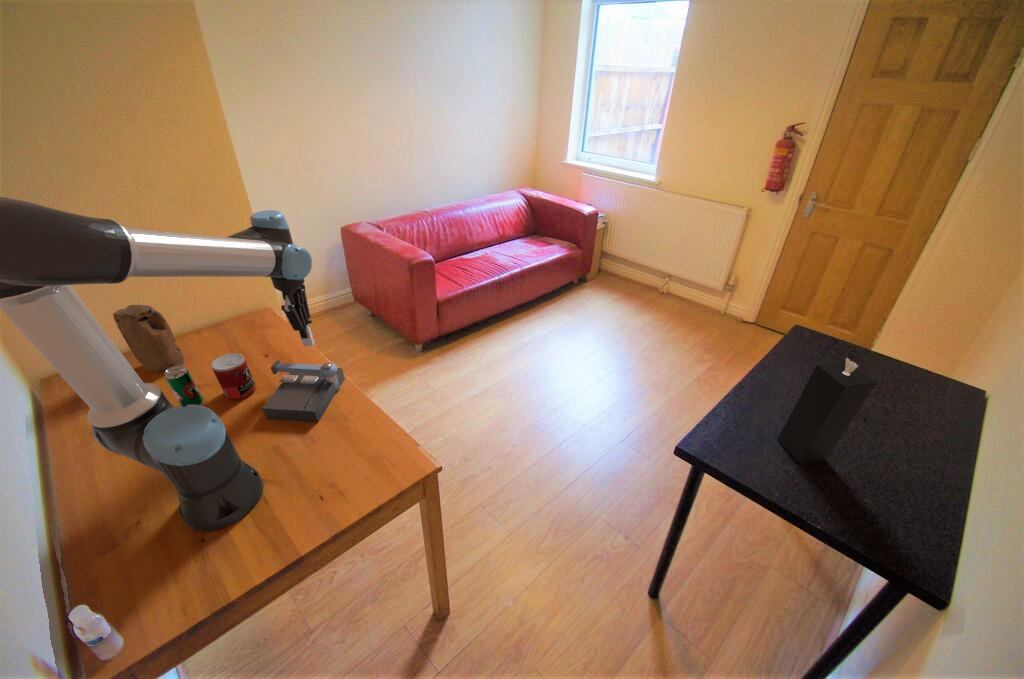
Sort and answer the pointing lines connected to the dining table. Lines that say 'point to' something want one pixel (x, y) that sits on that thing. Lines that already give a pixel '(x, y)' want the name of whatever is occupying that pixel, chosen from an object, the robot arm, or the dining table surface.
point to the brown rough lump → (148, 337)
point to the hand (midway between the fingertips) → (309, 344)
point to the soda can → (183, 386)
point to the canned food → (234, 376)
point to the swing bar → (304, 368)
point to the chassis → (303, 396)
